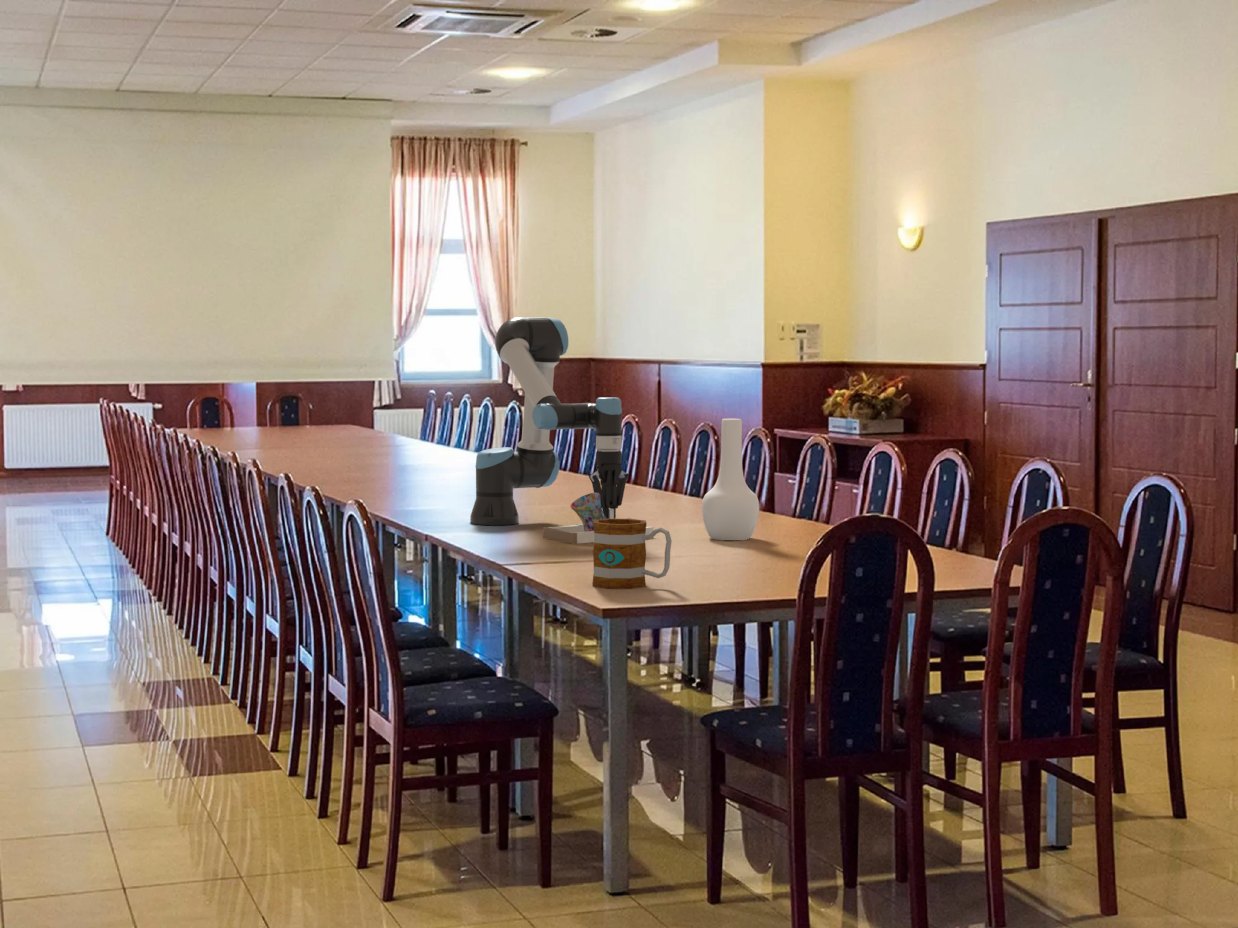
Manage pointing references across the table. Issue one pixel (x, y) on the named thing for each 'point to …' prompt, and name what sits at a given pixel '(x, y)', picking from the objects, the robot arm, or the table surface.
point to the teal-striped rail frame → (574, 534)
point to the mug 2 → (623, 553)
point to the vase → (730, 491)
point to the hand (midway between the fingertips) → (609, 530)
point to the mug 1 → (588, 510)
